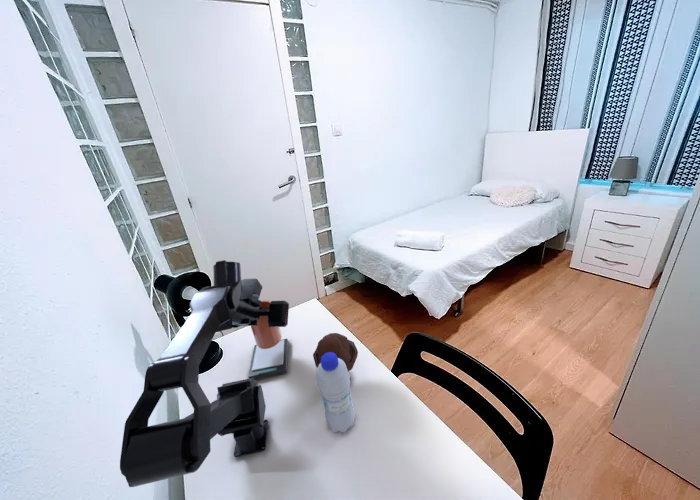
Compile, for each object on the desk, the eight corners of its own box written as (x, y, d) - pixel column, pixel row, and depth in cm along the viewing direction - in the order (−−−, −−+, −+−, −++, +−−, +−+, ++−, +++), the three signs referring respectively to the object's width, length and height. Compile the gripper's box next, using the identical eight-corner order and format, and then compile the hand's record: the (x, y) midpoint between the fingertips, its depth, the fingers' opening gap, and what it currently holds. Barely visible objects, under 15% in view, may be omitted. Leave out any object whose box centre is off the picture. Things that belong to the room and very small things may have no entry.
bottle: (330, 441, 58) (314, 374, 50) (324, 413, 64) (309, 348, 56) (360, 431, 60) (350, 364, 51) (351, 403, 66) (341, 339, 57)
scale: (286, 373, 76) (285, 367, 75) (249, 381, 75) (247, 375, 74) (288, 342, 87) (287, 337, 86) (255, 348, 86) (254, 344, 85)
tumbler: (280, 346, 76) (271, 313, 71) (254, 351, 75) (243, 318, 71) (282, 329, 82) (274, 298, 78) (258, 333, 82) (248, 303, 77)
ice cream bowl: (361, 397, 67) (355, 351, 60) (316, 400, 68) (305, 354, 61) (361, 362, 76) (355, 319, 70) (321, 364, 77) (312, 322, 71)
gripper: (277, 274, 64) (299, 288, 79) (204, 277, 67) (238, 290, 81) (273, 324, 60) (297, 328, 75) (195, 325, 63) (233, 330, 78)
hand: (265, 318), depth 77 cm, fingers closed on tumbler, 7 cm apart
